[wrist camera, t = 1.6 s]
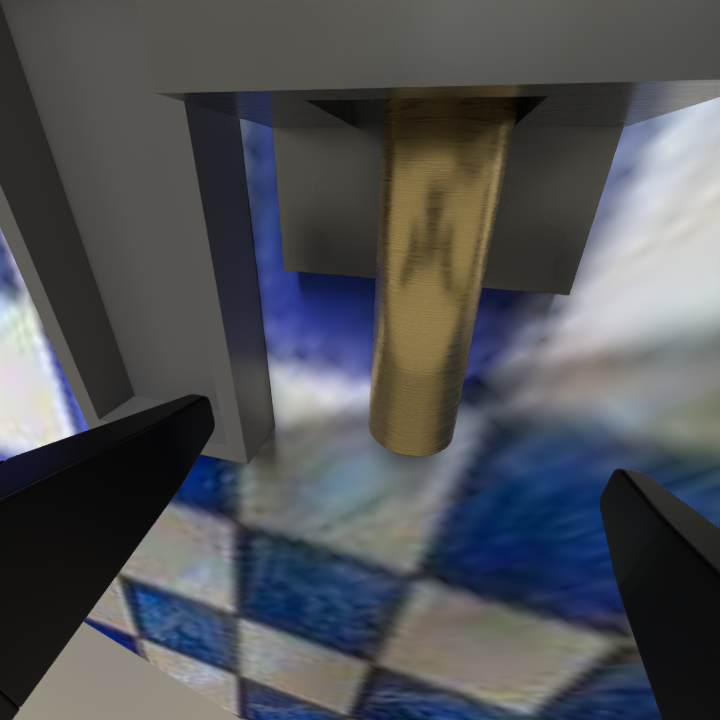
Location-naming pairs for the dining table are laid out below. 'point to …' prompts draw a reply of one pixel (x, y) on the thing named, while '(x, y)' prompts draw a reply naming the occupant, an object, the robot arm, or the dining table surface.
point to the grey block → (437, 80)
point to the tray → (129, 223)
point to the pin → (432, 259)
